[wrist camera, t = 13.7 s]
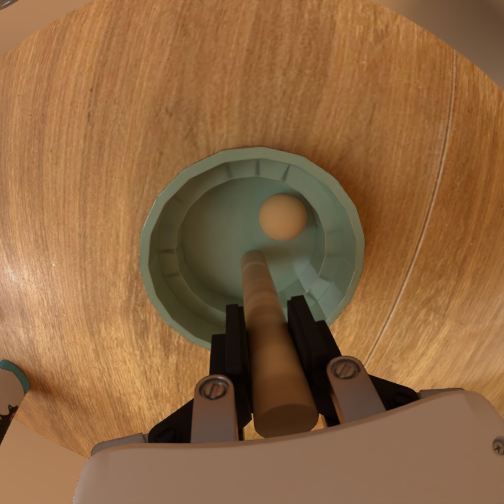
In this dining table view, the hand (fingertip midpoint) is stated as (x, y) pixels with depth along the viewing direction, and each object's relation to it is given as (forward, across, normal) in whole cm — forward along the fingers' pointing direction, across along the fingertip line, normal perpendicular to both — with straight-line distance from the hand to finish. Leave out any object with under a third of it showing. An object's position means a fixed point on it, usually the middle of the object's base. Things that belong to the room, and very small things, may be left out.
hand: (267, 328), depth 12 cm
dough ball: (+10, -3, -2) cm, 11 cm away
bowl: (+12, 0, 0) cm, 12 cm away
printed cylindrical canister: (+13, +41, +18) cm, 47 cm away
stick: (+11, 0, +1) cm, 11 cm away
